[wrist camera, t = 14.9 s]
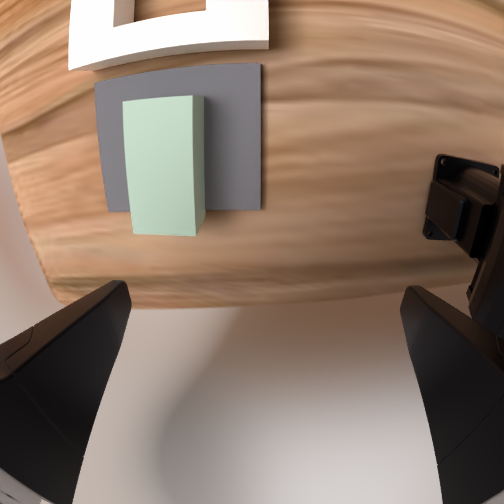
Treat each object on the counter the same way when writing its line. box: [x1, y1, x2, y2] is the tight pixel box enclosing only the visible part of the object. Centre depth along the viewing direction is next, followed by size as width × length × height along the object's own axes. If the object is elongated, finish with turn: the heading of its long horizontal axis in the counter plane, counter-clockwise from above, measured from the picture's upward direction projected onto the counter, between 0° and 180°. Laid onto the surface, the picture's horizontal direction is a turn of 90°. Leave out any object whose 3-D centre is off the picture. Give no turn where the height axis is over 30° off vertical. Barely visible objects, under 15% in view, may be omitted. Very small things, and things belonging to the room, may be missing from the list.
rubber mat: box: [95, 63, 261, 212], centre depth 18 cm, size 11×10×1 cm
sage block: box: [123, 95, 205, 236], centre depth 17 cm, size 4×8×3 cm, turn 178°
